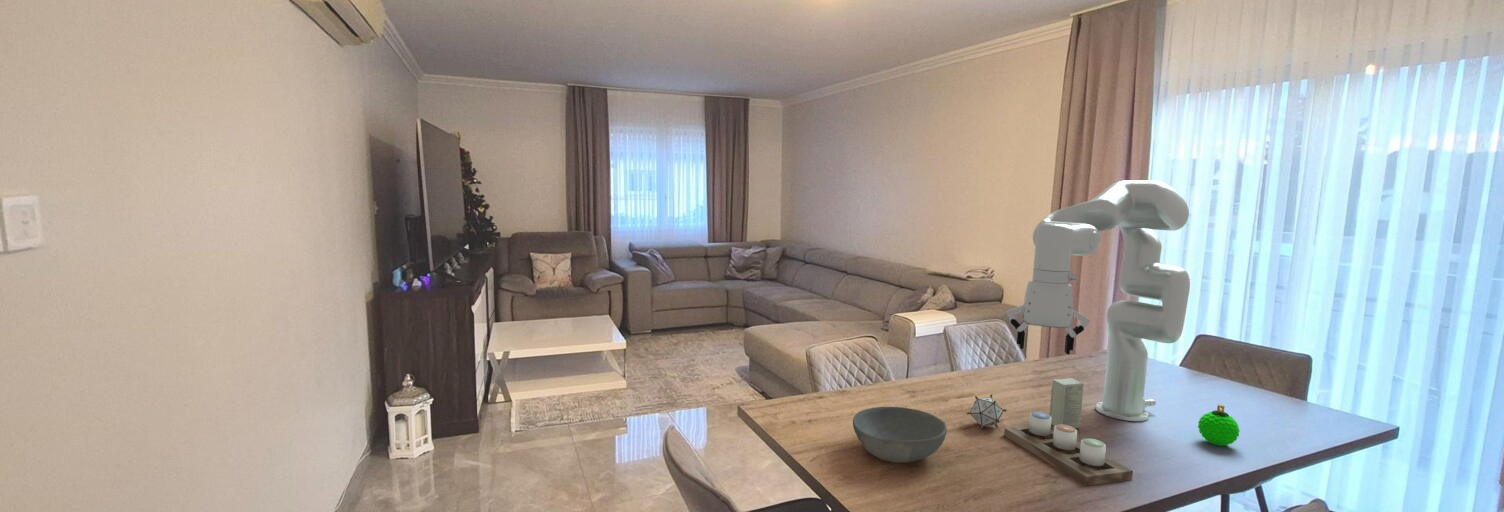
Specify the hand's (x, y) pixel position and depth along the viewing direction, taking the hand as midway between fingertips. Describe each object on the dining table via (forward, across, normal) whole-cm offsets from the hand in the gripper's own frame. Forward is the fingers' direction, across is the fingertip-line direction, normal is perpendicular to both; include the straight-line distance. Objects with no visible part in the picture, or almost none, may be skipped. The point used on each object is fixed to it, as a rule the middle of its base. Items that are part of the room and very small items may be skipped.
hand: (1043, 350), depth 141 cm
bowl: (+25, +30, +16) cm, 42 cm away
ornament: (+24, -43, -22) cm, 54 cm away
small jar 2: (+22, -6, +1) cm, 23 cm away
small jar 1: (+22, -1, -6) cm, 22 cm away
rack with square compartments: (+24, -6, +1) cm, 25 cm away
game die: (+24, +11, -11) cm, 29 cm away
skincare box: (+24, -8, -20) cm, 32 cm away
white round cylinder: (+22, -11, +7) cm, 25 cm away
